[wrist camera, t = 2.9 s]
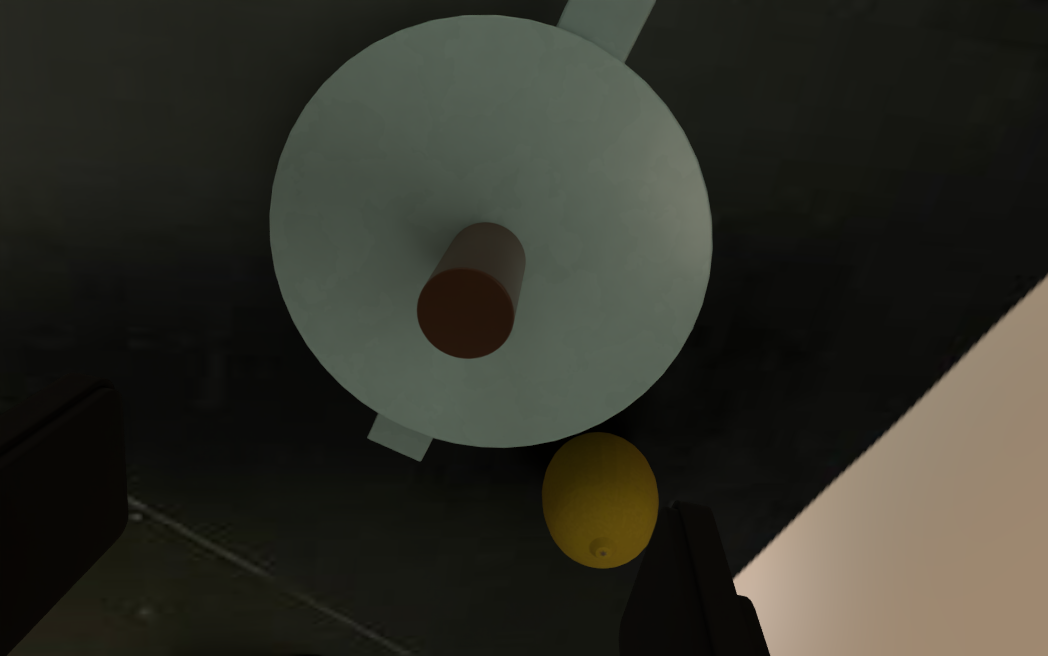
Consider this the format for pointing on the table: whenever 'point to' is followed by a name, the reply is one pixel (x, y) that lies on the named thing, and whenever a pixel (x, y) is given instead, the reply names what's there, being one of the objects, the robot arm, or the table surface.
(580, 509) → the lemon
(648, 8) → the pot
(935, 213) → the table surface
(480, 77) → the lid
